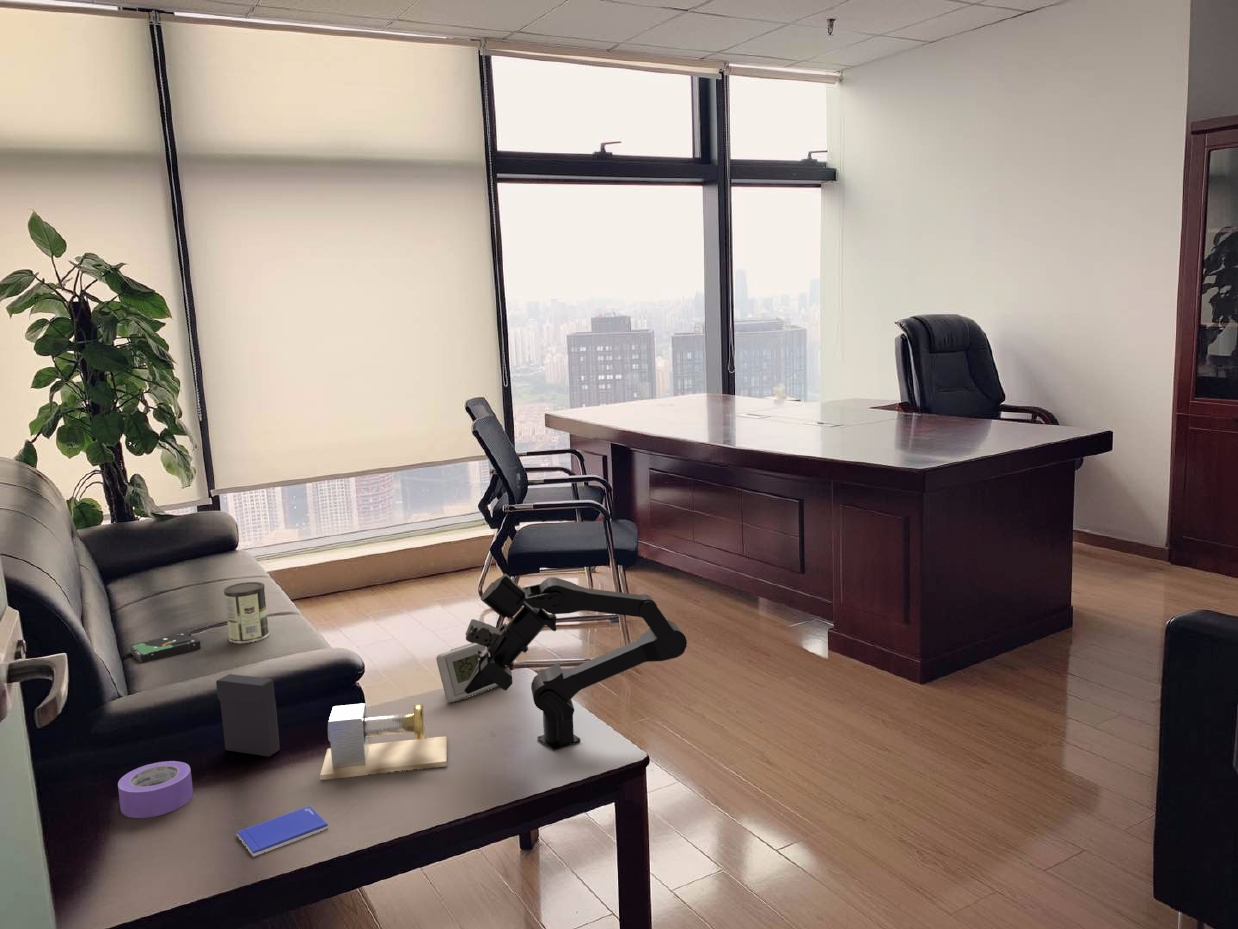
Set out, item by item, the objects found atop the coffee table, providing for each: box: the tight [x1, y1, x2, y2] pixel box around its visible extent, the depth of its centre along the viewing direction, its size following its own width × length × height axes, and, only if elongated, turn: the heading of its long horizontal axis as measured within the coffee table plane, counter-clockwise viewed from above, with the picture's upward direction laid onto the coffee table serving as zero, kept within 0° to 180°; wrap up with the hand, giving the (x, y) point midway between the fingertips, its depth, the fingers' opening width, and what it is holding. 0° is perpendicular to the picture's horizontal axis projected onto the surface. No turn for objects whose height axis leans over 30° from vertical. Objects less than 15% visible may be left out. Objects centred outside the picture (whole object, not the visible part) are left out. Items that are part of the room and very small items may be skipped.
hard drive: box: [236, 805, 329, 857], centre depth 157 cm, size 2×8×12 cm
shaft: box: [327, 703, 426, 742], centre depth 181 cm, size 18×7×7 cm, turn 100°
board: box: [319, 736, 448, 781], centre depth 182 cm, size 23×11×1 cm, turn 100°
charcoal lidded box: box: [215, 673, 281, 757], centre depth 187 cm, size 11×4×15 cm, turn 71°
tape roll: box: [117, 760, 194, 819], centre depth 169 cm, size 12×12×5 cm
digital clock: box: [436, 642, 499, 704], centre depth 214 cm, size 16×9×11 cm, turn 123°
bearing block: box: [328, 703, 369, 769], centre depth 180 cm, size 6×7×9 cm
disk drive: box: [129, 631, 202, 664], centre depth 247 cm, size 10×3×15 cm
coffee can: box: [222, 581, 270, 644], centre depth 255 cm, size 10×10×14 cm
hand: (465, 692), depth 183 cm, fingers closed
